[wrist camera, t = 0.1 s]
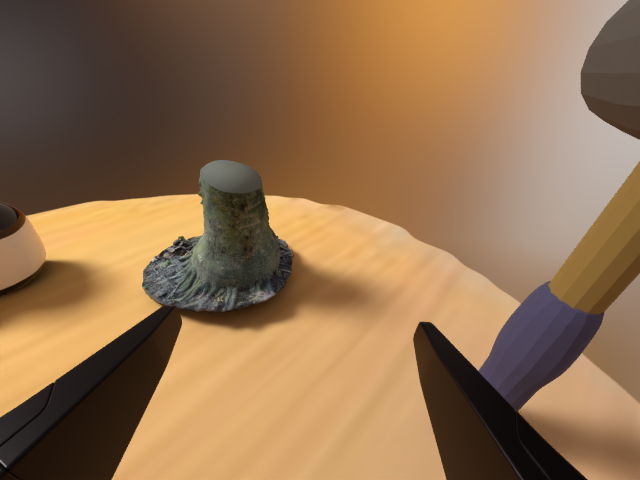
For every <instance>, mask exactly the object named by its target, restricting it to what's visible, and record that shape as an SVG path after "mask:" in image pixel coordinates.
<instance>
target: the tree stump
mask: <svg viewBox="0 0 640 480" xmlns="http://www.w3.org/2000/svg"><path fill="white" fill-rule="evenodd" d="M200 173H201V174H200V180H199V183H198V185H199V186H200V190H201V191H200V192H199V193H198V195H199V196H201V197H202V199H203V200H202V202H201V204H203V209H204V210H203V211H204V212H203V213H204V234H203V235H202V236H198V237H192V238H190V239H187V240H185V239H184V237H183V236H182V237H178V240H175V241H174V242H173V246H171V247H168V248H167V249H165V250H163V251H162V252H161V253H160V254H159V255H158V256H155V257H154V258H153V259H152V261H151V262H150V263H149V265H148V266H147V267H146V268H145V269H144V271H143V284H142V287H143V289H144V291H145V292H146V294H147V295H149V297H150V298H151V299H153V300H154V301H155V302H157V303H160V304H163V305H175V306H177V307H178V308H180V309H185V310H189V311H195V312H198V311H208V312H225V311H233V310H238V309H241V308H246V307H248V306H252V305H255V304H259V303H263V302H264V301H266V300H268V299H269V298H271V297H272V296H274V295H276V293H277V292H278V291H279V290H280V289H281V288H283V287H284V286H285V284H286V282H287V279H288V277H289V276H290V274H291V273H292V272H291V271H292V270H291V265H292V257H293V254H292V252H293V250H290V249H289V248H288V244H287V243H286V242H285V241H284V240H281V239H278V236H276V235H275V233H274V232H273V230H272V229H271V228H270V226H269V222H268V220H269V216H268V209H267V206H266V203H265V197H264V193H263V189H262V180H261V177H260V176H259V174H258V173H257V172H256V171H255V170H254V169H252V168H250V167H248V166H246V165H244V164H242V163H238V162H233V161H226V160H219V161H213V162H211V163H208V164H207V165H205V166H204V167H203V168H202V169H201V171H200ZM186 253H188V254H186ZM185 254H186V255H185ZM183 255H184V256H183Z"/></svg>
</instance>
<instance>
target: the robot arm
mask: <svg viewBox="0 0 640 480" xmlns="http://www.w3.org/2000/svg"><path fill="white" fill-rule="evenodd" d="M181 326H182V319H181V316H180V313H179V310H178V307H177V306H175V305H164V306H162V307H161V308H159V309H158V310H157V311H155V312H154V313H152V314H151V315H149V316H148V317H146V318H145V319H144V320H142V321H141V322H139V323H138V324H136V325H135V326H134V327H132V328H131V329H129V330H128V331H126V332H125V333H123V334H122V335H121V336H119V337H118V338H116V339H115V340H113V341H112V342H110V343H109V344H108V345H106V346H105V347H103V348H102V349H100V350H99V351H97V352H96V353H95V354H93V355H92V356H90V357H89V358H87V359H86V360H84V361H83V362H82V363H80V364H79V365H77V366H76V367H74V368H73V369H71V370H70V371H69V372H67V373H66V374H64V375H63V376H61V377H60V378H58V379H57V380H56V381H55V383H51V384H50V385H48V386H47V387H45V388H44V389H42V390H41V391H40V392H38V393H37V394H35V395H34V396H32V397H31V398H29V399H28V400H26V401H25V402H23V403H22V404H20V405H19V406H17V407H16V408H14V409H13V410H11V411H10V412H8V413H6V414H5V415H3V416H2V417H0V480H112V478H113V476H114V473H115V471H116V469H117V467H118V465H119V463H120V461H121V459H122V457H123V455H124V453H125V451H126V449H127V447H128V445H129V443H130V441H131V439H132V437H133V435H134V433H135V430H136V428H137V426H138V424H139V422H140V420H141V418H142V416H143V414H144V412H145V410H146V408H147V406H148V404H149V402H150V400H151V398H152V396H153V394H154V392H155V390H156V387H157V385H158V383H159V381H160V379H161V377H162V375H163V373H164V371H165V369H166V367H167V364H168V362H169V359H170V356H171V354H172V351H173V348H174V345H175V343H176V340H177V337H178V334H179V332H180V329H181ZM413 341H414V348H415V354H416V360H417V366H418V372H419V378H420V383H421V387H422V391H423V395H424V399H425V402H426V406H427V410H428V413H429V417H430V421H431V424H432V428H433V432H434V435H435V439H436V443H437V446H438V450H439V454H440V457H441V461H442V465H443V468H444V472H445V476H446V479H447V480H587V479H586V478H585V477H584V476H583V475H582V474H581V473H580V472H579V471H578V470H577V469H575V468H574V467H573V466H572V465H571V464H570V463H569V462H568V461H567V460H566V459H565V458H564V457H563V456H561V455H560V454H559V453H558V452H557V451H556V450H555V449H554V448H553V447H552V446H551V445H550V444H549V443H548V442H547V441H546V440H545V439H544V438H543V437H542V436H541V435H540V434H539V433H538V432H537V431H536V430H535V429H534V428H533V427H532V426H531V425H530V424H529V423H528V422H527V421H526V420H525V419H524V418H523V417H522V416H521V415H520V414H519V413H518V412H517V411H515V409H514V408H513V407H512V406H511V405H510V404H509V403H508V402H507V401H506V400H505V398H504V397H503V396H502V395H501V394H500V393H499V392H498V391H497V390H496V389H495V388H494V387H493V386H492V385H491V384H490V383H489V382H488V381H487V380H486V379H485V378H484V377H483V376H482V375H481V374H480V372H479V371H478V370H477V369H476V368H475V367H474V366H473V365H472V364H471V363H470V362H469V361H468V360H467V359H466V358H465V357H464V356H463V355H462V354H461V353H460V352H459V351H458V350H457V349H456V348H455V347H454V345H453V344H452V343H451V342H450V341H449V340H448V339H447V338H446V337H445V336H444V335H443V334H442V333H441V332H440V331H439V330H438V329H437V328H436V327H435V326H434V325H433V324H432V323H430V322H420V323H419V324H418V326H417V329H416V331H415V334H414V338H413Z"/></svg>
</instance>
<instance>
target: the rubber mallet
mask: <svg viewBox="0 0 640 480" xmlns="http://www.w3.org/2000/svg"><path fill="white" fill-rule="evenodd" d="M581 94H582V96H583V98H584V100H585V102H586V104H587V106H588V108H589V110H590V111H591V112H593V113H594V114H595V115H597V116H598V117H599V118H601V119H602V120H603V121H605V122H607V123H609V124H610V125H612V126H614V127H616V128H617V129H619V130H621V131H623V132H625V133H627V134H629V135H631V136H633V137H635V138H637V139H640V0H629V1H627V3H626V4H624V5H623V6H622V8H620V9H619V10H618V11H617V12H616V13H615V14H614V15H613V16H612V17H611V18H610V19H609V20H608V21H607V22H606V24H605V25H604V27H603V28H602V30H601V31H600V33H599V34H598V36H597V37H596V39H595V40H594V42H593V43H592V45H591V46H590V48H589V50H588V53H587V56H586V59H585V62H584V64H583V68H582V70H581ZM639 273H640V162H639V163H638V164H637V166H636V167H635V168H634V170H633V171H632V173H631V174H630V175H629V177H628V178H627V179H626V180H625V182H624V183H623V185H622V186H621V187H620V189H619V190H618V191H617V193H616V194H615V195H614V197H613V198H612V199H611V201H610V202H609V203H608V205H607V206H606V207H605V209H604V210H603V211H602V213H601V214H600V216H599V217H598V218H597V220H596V221H595V222H594V224H593V225H592V226H591V228H590V229H589V230H588V232H587V233H586V234H585V236H584V237H583V238H582V240H581V241H580V243H579V244H578V245H577V247H576V248H575V249H574V251H573V252H572V253H571V255H570V256H569V257H568V259H567V260H566V261H565V263H564V264H563V265H562V267H561V268H560V269H559V271H558V272H557V274H556V275H555V276H554V278H553V279H552V280H551V281H549V282H546V283H545V284H543V285H541V286H540V287H538V288H537V289H536V290H535V291H533V292H532V293H531V294H530V295H529V296H528V297H527V298H526V299H525V301H524V302H523V303H522V304H521V305H520V306H519V307H518V308H517V309H516V311H515V312H514V313H513V314H512V315H511V317H510V318H509V319H508V321H507V322H506V323H505V325H504V326H503V328H502V329H501V331H500V332H499V334H498V336H497V338H496V340H495V343H494V345H493V348H492V350H491V353H490V355H489V357H488V358H487V359H486V361H485V362H484V364H483V365H482V367H481V368H480V369H479V372H480V374H481V375H482V376H483V377H484V378H485V379H486V380H487V381H488V382H489V383H490V384H491V385H492V386H493V387H494V388H495V389H496V390H497V391H498V392H499V393H500V394H501V395H502V396H503V397H504V398H505V400H506V401H507V402H508V403H509V404H510V405H511V406H512V407H513V408H514V409H515V411H517V412H518V411H519V409H520V408H521V407H522V406H523V405H524V404H525V403H526V402H527V401H528V400H529V399H530V398H531V397H532V396H533V395H534V394H535V393H536V392H537V391H538V390H539V389H541V388H542V387H543V386H545V385H547V384H548V383H550V382H551V381H553V380H554V379H556V378H557V377H559V376H560V375H562V374H563V373H564V372H565V371H566V370H567V369H568V368H569V367H570V366H571V365H572V364H573V363H574V361H575V360H576V359H577V358H578V357H579V356H580V354H581V353H582V352H583V350H584V349H585V347H586V346H587V345H588V344H589V342H590V341H591V340H592V338H593V337H594V335H595V334H596V332H597V330H598V329H599V327H600V325H601V323H602V320H603V316H604V312H605V310H606V309H607V308H608V307H609V306H610V305H611V304H612V303H613V302H614V301H615V299H616V298H617V297H618V296H619V295H620V294H621V293H622V292H623V291H624V290H625V289H626V287H627V286H628V285H629V284H630V283H631V282H632V281H633V280H634V279H635V278H636V277H637V275H638V274H639Z"/></svg>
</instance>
